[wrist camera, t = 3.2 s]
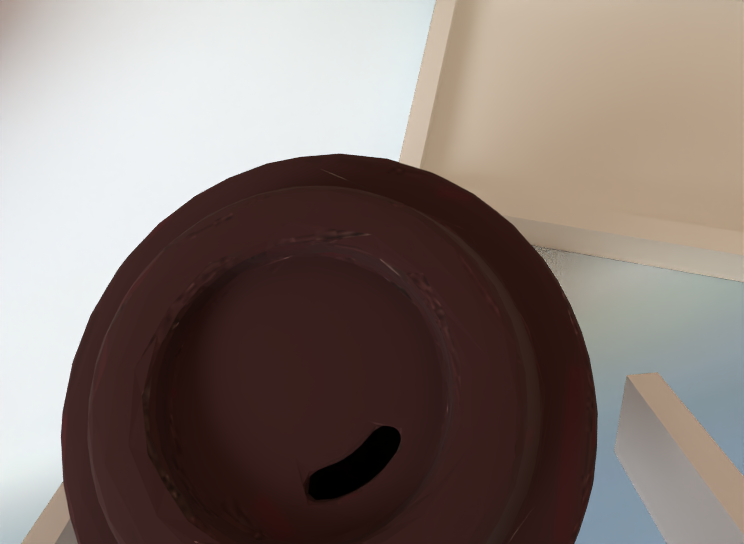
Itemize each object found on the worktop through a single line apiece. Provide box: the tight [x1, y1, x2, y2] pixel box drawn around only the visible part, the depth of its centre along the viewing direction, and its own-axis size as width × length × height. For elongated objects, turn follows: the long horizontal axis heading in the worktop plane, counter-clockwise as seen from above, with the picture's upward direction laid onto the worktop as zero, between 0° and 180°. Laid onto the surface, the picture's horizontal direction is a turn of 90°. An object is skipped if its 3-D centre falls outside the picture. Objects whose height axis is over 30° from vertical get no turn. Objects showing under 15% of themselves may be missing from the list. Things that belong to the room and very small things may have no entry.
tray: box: [399, 0, 744, 282], centre depth 23 cm, size 20×16×3 cm
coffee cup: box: [61, 154, 598, 544], centre depth 14 cm, size 10×10×15 cm
